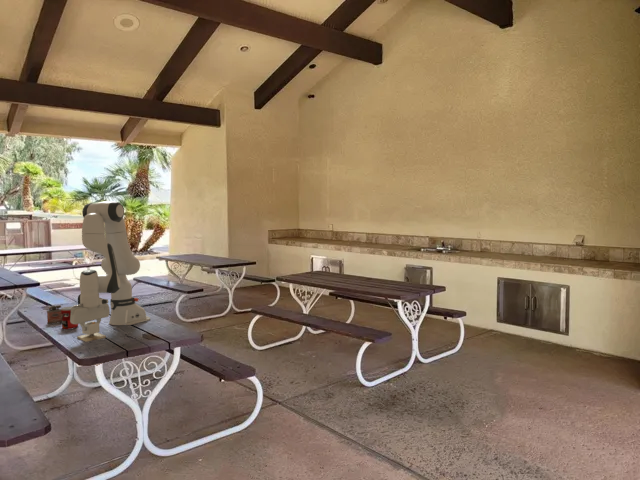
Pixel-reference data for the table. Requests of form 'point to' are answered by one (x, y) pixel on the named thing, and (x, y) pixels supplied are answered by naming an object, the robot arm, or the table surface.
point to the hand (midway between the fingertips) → (90, 329)
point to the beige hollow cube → (91, 327)
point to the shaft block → (91, 337)
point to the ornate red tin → (54, 315)
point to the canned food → (67, 318)
